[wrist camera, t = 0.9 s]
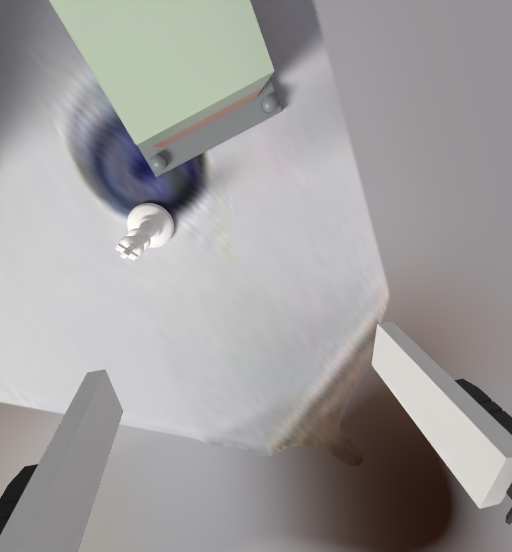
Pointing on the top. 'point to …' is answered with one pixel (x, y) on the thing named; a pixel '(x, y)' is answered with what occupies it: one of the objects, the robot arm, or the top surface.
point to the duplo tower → (176, 70)
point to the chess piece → (146, 230)
